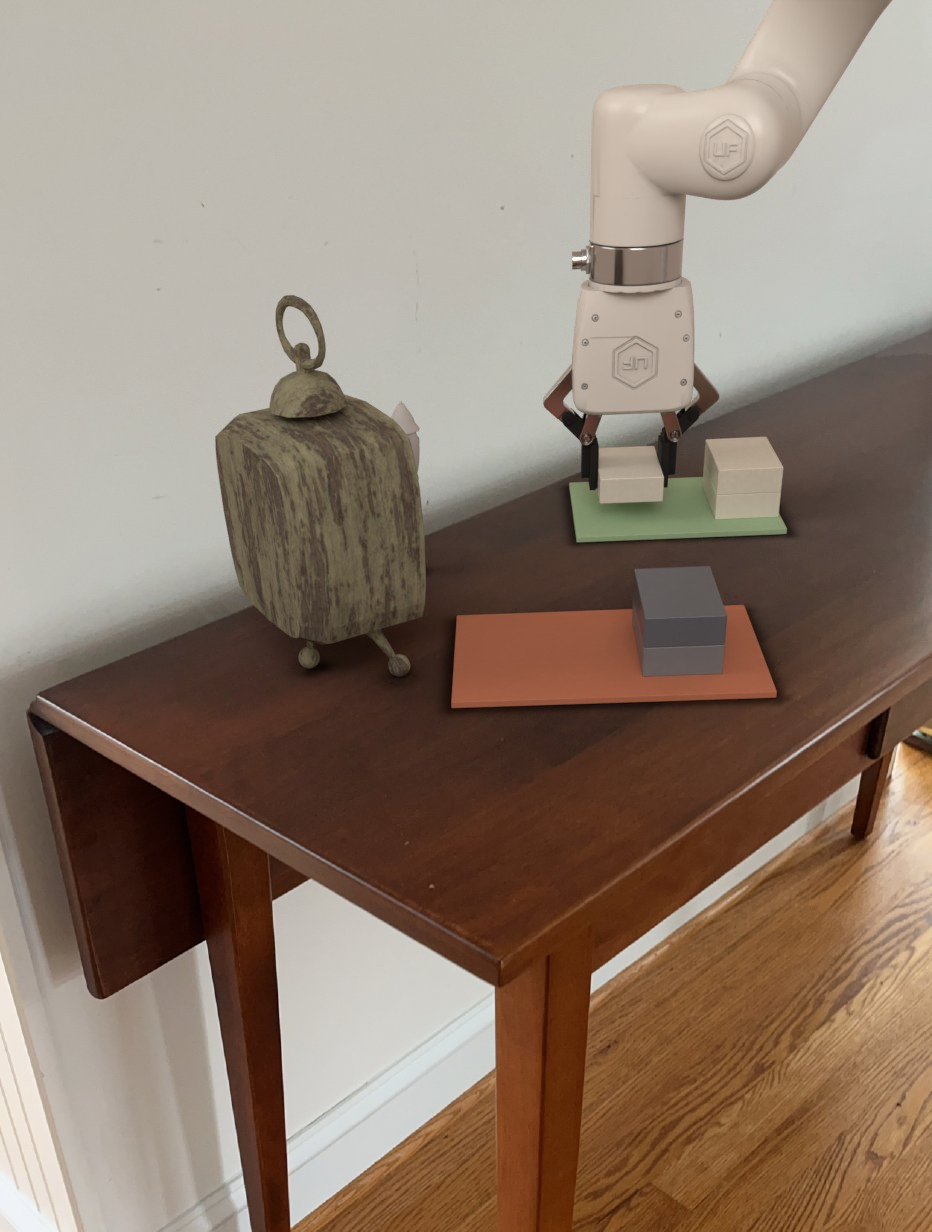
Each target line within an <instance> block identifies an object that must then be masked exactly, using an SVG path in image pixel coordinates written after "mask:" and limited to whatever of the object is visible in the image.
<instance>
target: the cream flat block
mask: <svg viewBox="0 0 932 1232" xmlns="http://www.w3.org/2000/svg"><path fill="white" fill-rule="evenodd" d="M663 489H664V476H663V472H662V469H661V466H660V463H659V460H658V457H657V449H656V447H655V445H640V446H639V445H638V446H618V447H617V446H611V447H599V466H598V489H597V492H598V497H599V503H600V504H604V503H632V502H659V501H663Z"/></svg>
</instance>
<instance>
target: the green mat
mask: <svg viewBox="0 0 932 1232" xmlns="http://www.w3.org/2000/svg"><path fill="white" fill-rule="evenodd" d="M702 485H703V476H693V477H691V476H690V477H672V478H671V477H668V487H667V488H664V489H663V501H659V502H632V503H604V504H600V503H599V497H598V492H597V489H596V490H590V488H589V482H588V481H573V482H568V488H569V489H568V490H569V496H570V503H571V511H572V519H573V526H574V532H575V534H574V535H575V539H576V540H575V542H576V543H597V542H598V543H600V542H601V543H602V542H622V541H623V542H624V541H625V542H626V541H649V540H651V541H652V540H673V539H674V540H675V539H697V538H699V539H701V538H721V537H723V538H724V537H725V538H726V537H749V536H751V537H752V536H775V535H787V533H788V528H787V526H786V524H785V522H784V520H783V518H782V516H781V514H780V513H779V516H778V517H765V518H741V519H717V520H716V519H715V518H714V515H713V512H712V510H711V507H710V505H709V502H708V499H707V497H706V494H705V492H704V489H703V486H702Z"/></svg>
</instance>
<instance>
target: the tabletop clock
mask: <svg viewBox="0 0 932 1232" xmlns="http://www.w3.org/2000/svg"><path fill="white" fill-rule="evenodd" d="M288 307H289V308H294V309H297V310H299V311H300V312H302V313H303V315H304V316H305V317H306V319H308V321H309V324H310V326H311V328H312V329H313V332H314V334H315V337H316V339H317V345H318V346H317V347H318V350H317V351H318V352H317V355H316V356H315V358H312V357H311V356H312V355H311V349H310V345H308V344H307V343H305V342H299V343H297V344H295V345H294V347H293V346H292V345H291V343H290V341H289V340H288V339H287V337H286V333H285V330H284V320H283V319H284V315H285V312H286V309H287V308H288ZM275 327H276V333H277V336H278V340H279V343H280V344H281V347H282V350H283V352H284V353H285V355H287V357H288V358H289V361H291V362H292V363H294V364H295V370H296V371H292V372H289V373H288V374H286V375H284V376H282V377H281V378H280V379H279V380H278V382H277V383H276V384H275V385H274V387H273V389H272V392H271V395H270V401H269V407H267V408H266V407H265V408H262V409H257V410H252V411H247V412H243V413H239V414H238V415H236V416H234V417H233V418H232V419H231V420H230V421H229V422H228V423H227V424H226V425H225V426H224V427H223V429H221V430H220V431H219V432H218V433H217V434H216V435H215V436H214V437H215V438H214V441H215V443H214V444H215V445H214V446H215V459H216V468H217V475H218V481H219V488H220V495H221V502H222V508H223V515H224V520H225V524H226V531H227V537H228V543H229V548H230V552H231V553H230V554H231V557H232V558H231V559H232V563H233V566H234V570H235V571H234V572H235V574H236V578H237V581H238V585H239V587H240V589H241V591H242V592H243V595H245V597H246V598H247V600H248V601H249V602H250V603H251V604H252V605H253V607H255V608H256V609H257V610H258V611H259V612H260V613H261V614H262V616H264V617H265V618H266V619H267V620H268V621H269V622H271V623H272V624H273V625H275V626H276V627H277V628H278V629H279V630H281V631H282V632H284V633H285V634H286V635H288V636H289V637H290V638H293V639H298V640H301V641H306V646H304V647H302V648H301V649H300V650H299V653H298V662H299V665H300V666H301V667H303V668H304V669H306V670H307V669H309V670H310V669H314V668H316V667H317V666H318V665H319V663H320V660H321V657H320V652H319V650H318V649H317V648H315V644H318V645H321V646H323V645H332V644H335V643H338V642H341V641H345V640H348V639H353V638H355V637H359V636H362V635H365V636H366V637H369V638H370V639H371V640H373V641H374V643H375V644H376V645H377V647H379V648H380V650H381V651H382V652H383V653H384V654H385V656H387V658H388V659H389V660H388V662H387V668H388V670H389V673H390V674H391V675H392V676H394V677H398V678H401V677H402V678H403V677H404V676H406V675H408V673H409V672H410V669H411V663H410V660H409V658H408V656H406V655H405V654H401V653H395V651H394V649H393V647H392V646H391V644H390V642H389V641H388V639H387V637H386V636H385V634H384V632H383V629H386V628H389V627H392V626H396V625H399V624H403V623H406V622H409V621H413V620H416V619H419V618H420V619H421V618H423V616H424V610H425V605H426V596H427V595H426V592H427V568H426V567H427V565H426V564H427V563H426V535H425V526H424V517H423V507H422V497H421V488H420V481H418V477H419V474H418V473H417V468H416V462H415V458H414V454H413V450H412V446H411V442H410V439H409V437H408V436H407V435H406V433H405V432H404V431H403V429H402V428H401V427H400V425H398V424H397V423H396V422H395V421H394V420H393V419H392V418H391V417H392V416H389V414H386V413H385V412H384V411H382V410H380V409H379V408H377V407H375V406H374V405H372V404H370V403H369V402H368V401H367V400H363V399H360V398H358V397H354V396H351V395H348V394H344V391H343V390H342V388H341V387H340V385H339V383H338V382H337V380H336V379H335V378H334V377H333V376H332V375H331V374H329V373H328V372H326V371H322V370H318V369H319V368H321V367H322V366H323V364H324V362H325V358H326V350H327V348H326V347H327V346H326V338H325V333H324V330H323V326H322V323H321V320H320V318H319V316H318V314H317V312H316V311H315V309H314V308H313V306H312V305H311V304H310V303H308V301H306V300H305V299H303V297H300V296H297V295H294V294H287V295H283V297H282V298H280V299H279V300H278V302H277V304H276V308H275Z"/></svg>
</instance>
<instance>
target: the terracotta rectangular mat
mask: <svg viewBox="0 0 932 1232" xmlns="http://www.w3.org/2000/svg"><path fill="white" fill-rule="evenodd" d="M724 608H725V611H726V614H727V625H726V637H725V644H724V645H725V649H724V661H723V672H722V674H703V675H673V676H644V677H643V676H642V671H641V666H640V661H639V656H638V651H637V646H636V641H635V636H634V631H633V626H632V612H633V608H621V609H596V610H595V609H594V610H593V609H592V610H568V611H567V610H566V611H564V610H563V611H541V612H539V611H538V612H514V613H513V612H512V613H487V614H486V613H485V614H483V613H482V614H461V615H460V614H459V615H456V622H455V638H454V652H453V667H452V668H453V669H452V686H451V698H450V699H451V701H450V705H451V709H467V708H469V709H470V708H471V709H472V708H500V707H501V708H502V707H503V708H505V707H532V706H534V707H535V706H536V707H537V706H561V705H563V706H564V705H593V704H623V703H628V704H629V703H657V702H659V703H660V702H687V701H688V702H689V701H716V700H717V701H718V700H722V701H723V700H743V699H744V700H747V699H749V700H752V699H753V700H754V699H776V698H777V694H778V691H777V688H776V685H775V682H774V681H773V678H772V674H771V672H770V669H769V667H768V665H767V662H766V659H765V657H764V654H763V651H762V649H761V646H760V644H759V641H758V638H757V635H756V633H755V630H754V628H753V624H752V622H751V620H750V617H749V614H748V611H747V608H746V605H745V604H730V605H729V604H728V605H724Z"/></svg>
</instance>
